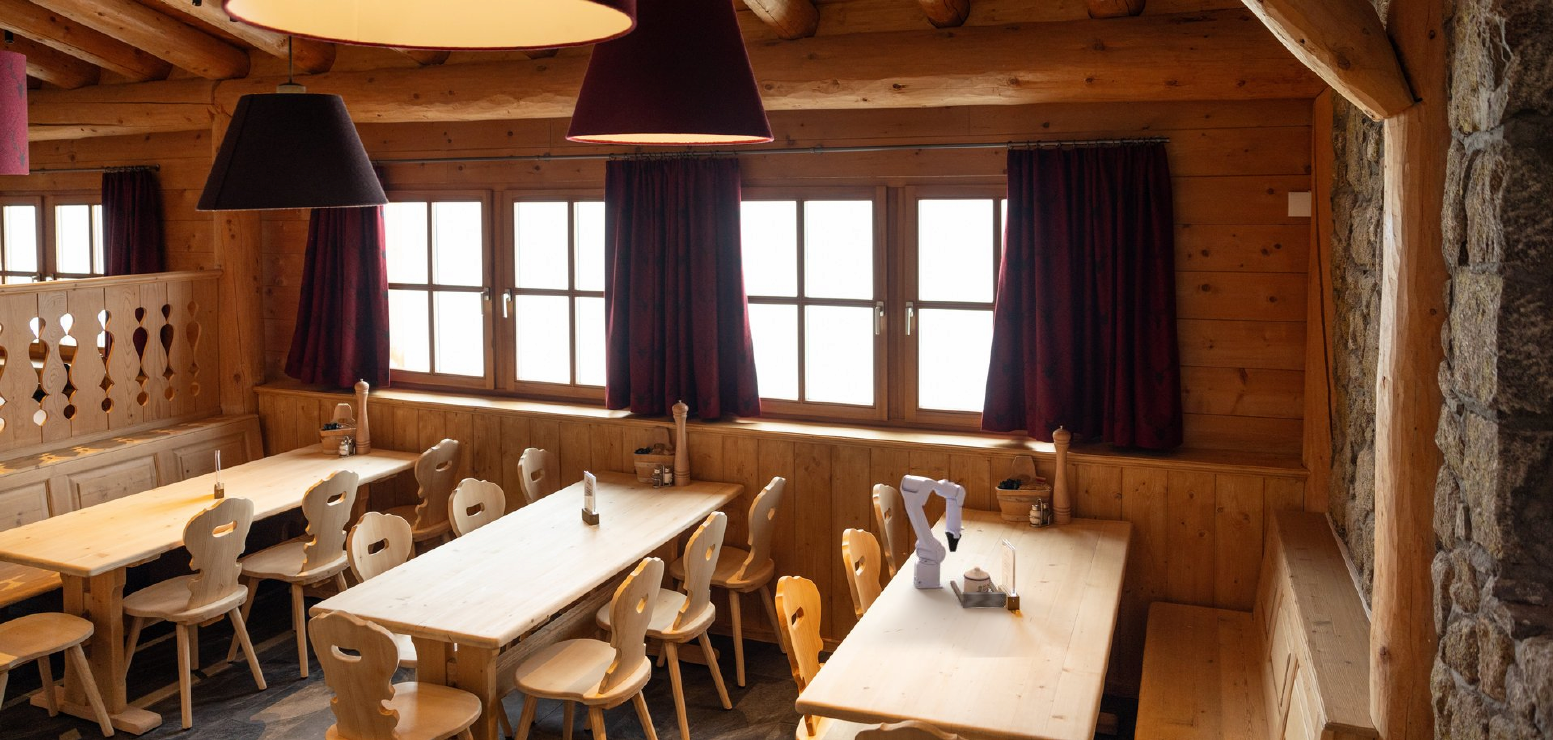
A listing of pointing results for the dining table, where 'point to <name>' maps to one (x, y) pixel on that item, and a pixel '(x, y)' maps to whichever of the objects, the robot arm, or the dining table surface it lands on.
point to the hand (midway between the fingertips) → (952, 551)
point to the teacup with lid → (976, 581)
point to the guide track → (980, 597)
